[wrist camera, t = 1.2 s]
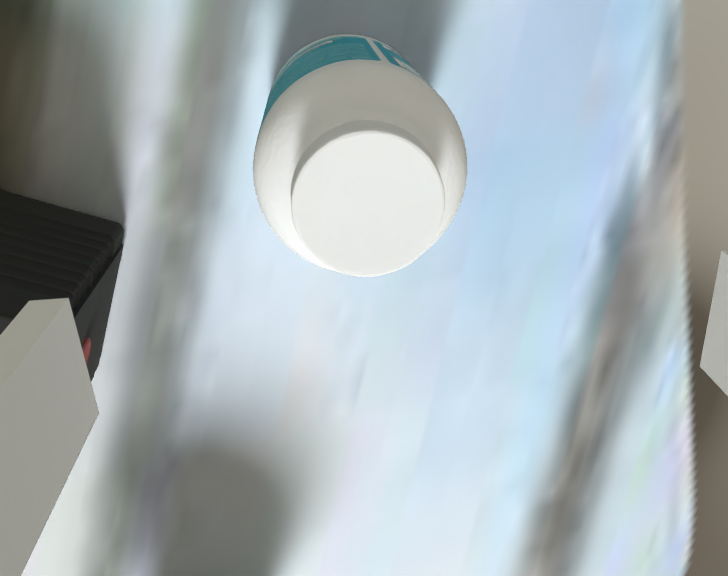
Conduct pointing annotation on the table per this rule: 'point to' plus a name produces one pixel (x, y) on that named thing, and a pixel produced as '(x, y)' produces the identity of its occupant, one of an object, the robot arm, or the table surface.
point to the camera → (59, 265)
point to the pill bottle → (357, 158)
